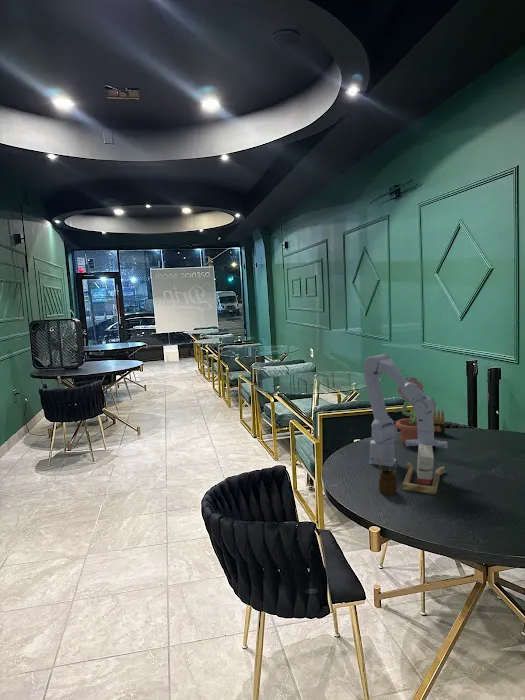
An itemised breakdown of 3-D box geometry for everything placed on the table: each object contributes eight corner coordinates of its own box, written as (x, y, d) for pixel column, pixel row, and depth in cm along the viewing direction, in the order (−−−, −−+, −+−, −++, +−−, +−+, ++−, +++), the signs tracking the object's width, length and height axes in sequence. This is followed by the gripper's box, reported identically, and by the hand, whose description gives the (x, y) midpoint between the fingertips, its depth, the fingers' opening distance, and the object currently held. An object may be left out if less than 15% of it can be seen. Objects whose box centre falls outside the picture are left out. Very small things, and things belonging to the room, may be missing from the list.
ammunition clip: (421, 433, 220) (420, 408, 218) (421, 431, 221) (421, 407, 220) (444, 434, 216) (444, 410, 214) (444, 433, 217) (444, 409, 216)
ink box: (432, 485, 161) (434, 458, 157) (417, 484, 162) (418, 457, 158) (430, 470, 169) (432, 443, 164) (416, 469, 170) (417, 443, 166)
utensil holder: (396, 496, 154) (396, 462, 152) (377, 494, 156) (376, 460, 154) (397, 489, 159) (397, 456, 158) (379, 487, 161) (378, 454, 160)
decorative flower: (391, 446, 203) (390, 380, 199) (394, 436, 216) (394, 375, 212) (426, 449, 197) (426, 381, 194) (428, 439, 210) (428, 375, 206)
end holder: (398, 488, 159) (398, 483, 159) (407, 467, 178) (407, 462, 178) (440, 494, 153) (440, 489, 153) (445, 471, 172) (445, 466, 172)
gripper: (447, 427, 168) (448, 462, 170) (406, 426, 175) (408, 460, 176) (446, 433, 162) (447, 469, 163) (404, 431, 168) (406, 466, 169)
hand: (427, 465), depth 169 cm, fingers closed, pressing on ink box
